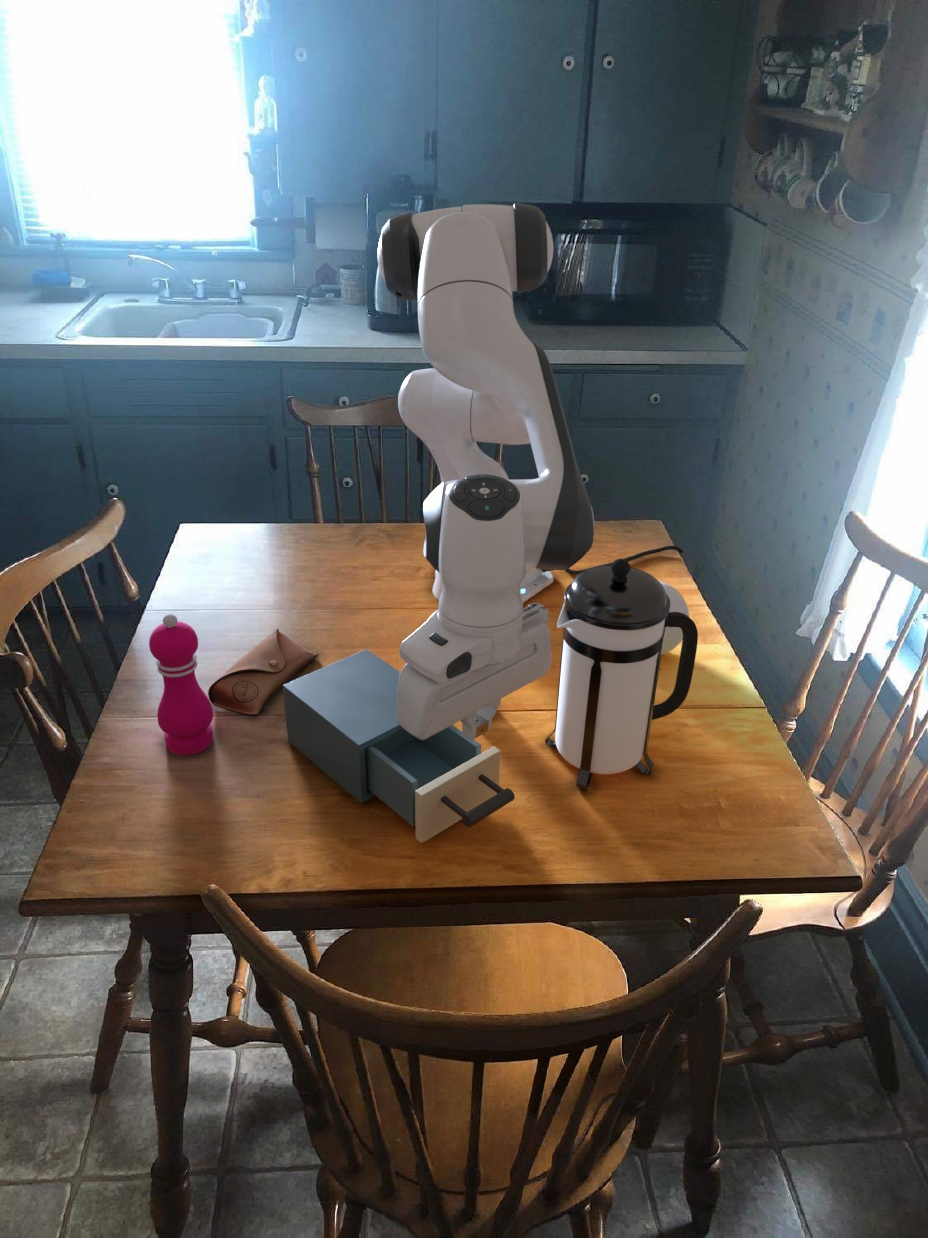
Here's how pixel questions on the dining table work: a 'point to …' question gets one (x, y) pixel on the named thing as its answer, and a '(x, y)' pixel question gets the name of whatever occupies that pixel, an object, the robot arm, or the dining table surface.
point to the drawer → (436, 779)
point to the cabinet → (343, 716)
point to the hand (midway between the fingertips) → (476, 733)
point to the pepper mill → (181, 689)
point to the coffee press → (615, 668)
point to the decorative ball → (676, 605)
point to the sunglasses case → (260, 674)
